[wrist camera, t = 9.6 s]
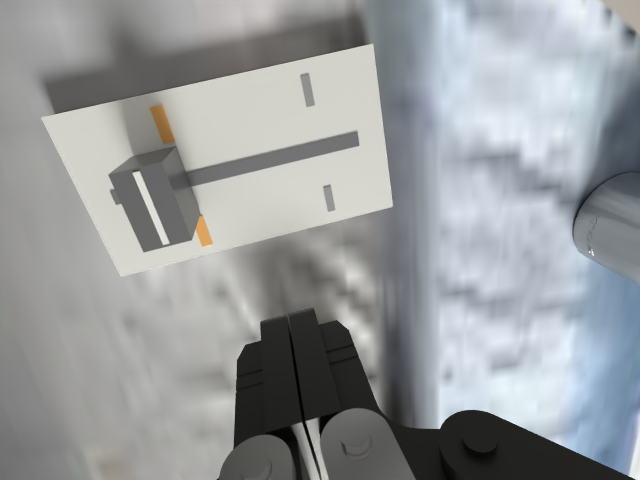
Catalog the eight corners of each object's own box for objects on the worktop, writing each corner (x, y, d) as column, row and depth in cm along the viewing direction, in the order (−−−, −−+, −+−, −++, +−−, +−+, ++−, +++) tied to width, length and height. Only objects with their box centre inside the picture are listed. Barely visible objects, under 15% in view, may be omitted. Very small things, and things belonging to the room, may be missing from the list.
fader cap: (176, 145, 26) (161, 162, 21) (200, 212, 28) (191, 240, 23) (131, 156, 26) (107, 175, 21) (159, 223, 28) (143, 253, 23)
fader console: (364, 45, 28) (373, 43, 26) (384, 199, 33) (393, 207, 31) (55, 114, 26) (39, 117, 24) (128, 264, 31) (120, 277, 29)
